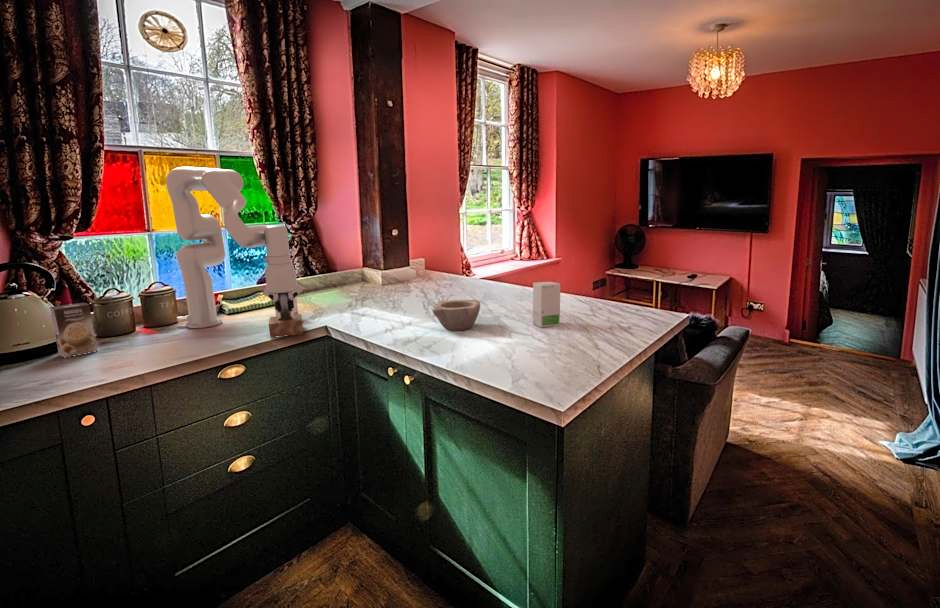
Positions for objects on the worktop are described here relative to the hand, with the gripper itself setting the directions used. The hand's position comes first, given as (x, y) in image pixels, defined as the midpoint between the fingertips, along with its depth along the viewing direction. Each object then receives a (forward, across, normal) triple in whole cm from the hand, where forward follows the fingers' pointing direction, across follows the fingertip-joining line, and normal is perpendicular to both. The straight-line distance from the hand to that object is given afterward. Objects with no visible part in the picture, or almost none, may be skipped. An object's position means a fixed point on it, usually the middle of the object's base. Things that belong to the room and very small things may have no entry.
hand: (285, 310), depth 179 cm
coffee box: (+8, -64, +1) cm, 65 cm away
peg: (+2, 0, 0) cm, 2 cm away
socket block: (+8, 0, 0) cm, 8 cm away
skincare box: (+9, +90, -30) cm, 95 cm away
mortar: (+9, +59, -20) cm, 63 cm away
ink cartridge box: (+8, 0, +19) cm, 21 cm away
